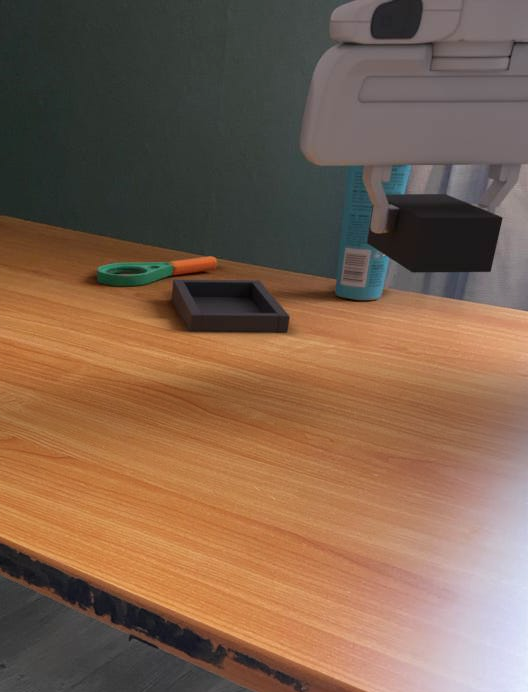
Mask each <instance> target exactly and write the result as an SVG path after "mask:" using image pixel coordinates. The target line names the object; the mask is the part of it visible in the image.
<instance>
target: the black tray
mask: <svg viewBox="0 0 528 692" xmlns="http://www.w3.org/2000/svg"><path fill="white" fill-rule="evenodd" d="M171 302H172V304H173V305H174V308H175V310H176V312H177V314H178V316H179V318H180V319H181V320H184V322H185V324H186V326H187V328H188V331H189V332H190V333H193V332H194V333H267V334H268V333H269V334H270V333H271V334H272V333H273V334H274V333H277V334H280V333H281V334H282V333H283V334H288V331H289V324H290V315H289V314H288V313H287V311H286V310H285V309H284V308H283V307H282V305H281V304H280V303H279V301H278V300H277V299H276V298H275V297H274V296H273V295H272V294H271V292H270V291H269V290H268V289H267V288H266V286H265V285H264V284H263V283H262V282H261V281H260V280H250V279H249V280H248V279H246V280H245V279H241V280H240V279H173V280H172V288H171Z"/></svg>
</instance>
